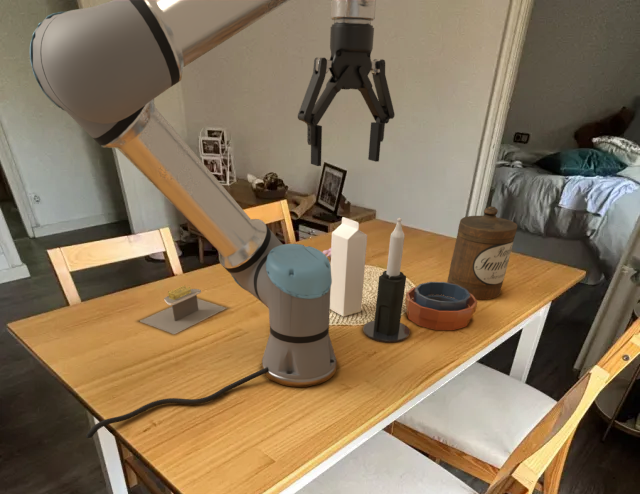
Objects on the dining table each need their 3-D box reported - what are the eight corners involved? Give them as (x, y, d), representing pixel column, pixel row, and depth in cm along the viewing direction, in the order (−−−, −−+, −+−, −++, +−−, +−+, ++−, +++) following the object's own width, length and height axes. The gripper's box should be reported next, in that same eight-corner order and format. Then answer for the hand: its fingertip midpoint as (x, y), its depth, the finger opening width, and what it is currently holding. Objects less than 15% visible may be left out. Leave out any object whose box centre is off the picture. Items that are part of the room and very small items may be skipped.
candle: (400, 328, 114) (416, 217, 98) (391, 336, 110) (406, 222, 95) (381, 323, 116) (393, 213, 101) (371, 330, 112) (382, 218, 97)
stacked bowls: (434, 336, 112) (439, 310, 108) (391, 310, 123) (394, 285, 119) (486, 322, 119) (492, 297, 115) (440, 298, 130) (445, 275, 126)
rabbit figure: (338, 255, 161) (315, 259, 149) (340, 236, 158) (317, 239, 146) (354, 258, 159) (332, 263, 147) (357, 239, 156) (335, 243, 144)
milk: (343, 317, 119) (348, 224, 106) (328, 308, 123) (331, 218, 110) (361, 311, 122) (369, 220, 109) (346, 303, 126) (351, 214, 113)
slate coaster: (380, 346, 107) (381, 344, 107) (353, 327, 115) (354, 325, 114) (419, 336, 112) (419, 334, 112) (390, 318, 119) (391, 316, 119)
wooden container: (480, 304, 127) (501, 217, 114) (435, 287, 136) (450, 205, 123) (510, 291, 135) (533, 208, 122) (466, 276, 144) (483, 197, 131)
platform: (138, 321, 115) (133, 294, 111) (193, 297, 127) (189, 272, 123) (174, 334, 110) (169, 307, 106) (227, 308, 122) (224, 283, 118)
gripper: (298, 17, 74) (299, 170, 87) (423, 26, 85) (406, 161, 98) (277, 19, 79) (280, 163, 92) (397, 27, 90) (385, 156, 103)
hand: (345, 162), depth 95 cm, fingers open, 13 cm apart
